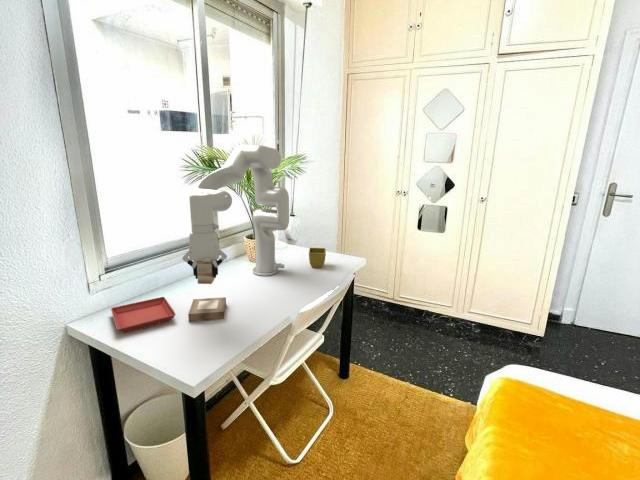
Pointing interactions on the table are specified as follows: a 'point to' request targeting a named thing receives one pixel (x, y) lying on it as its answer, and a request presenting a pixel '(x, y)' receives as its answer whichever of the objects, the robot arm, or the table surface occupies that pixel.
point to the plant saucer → (142, 314)
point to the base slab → (207, 309)
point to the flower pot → (317, 257)
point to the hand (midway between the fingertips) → (206, 276)
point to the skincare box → (205, 271)
